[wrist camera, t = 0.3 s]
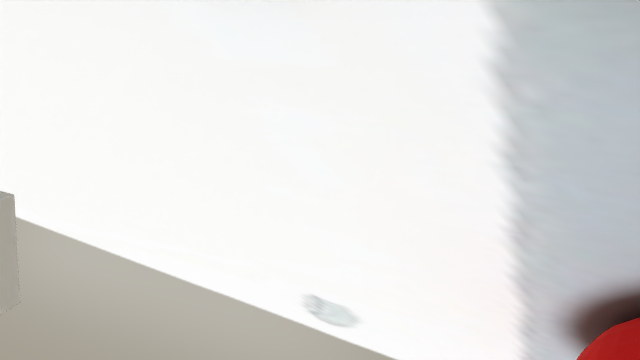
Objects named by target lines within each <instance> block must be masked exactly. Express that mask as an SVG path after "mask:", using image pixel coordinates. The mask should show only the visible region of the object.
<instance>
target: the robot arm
mask: <svg viewBox="0 0 640 360" xmlns="http://www.w3.org/2000/svg"><path fill="white" fill-rule="evenodd" d="M19 289H20V288H19V271H18V253H17V237H16V221H15V201H14V195H13V194H10V193H6V192H2V191H0V315H2V314H3V313H5V312H7V311H8V310H10V309H11V308H12V307H14V306H15V305H17V304H19V303H20V290H19Z"/></svg>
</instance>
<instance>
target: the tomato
mask: <svg viewBox="0 0 640 360" xmlns="http://www.w3.org/2000/svg"><path fill="white" fill-rule="evenodd" d="M577 360H640V318H636V319H633V320H630V321H627V322H624V323H620V324H617V325H615V326H613V327H611V328H610V329H608V330H606V331H604V332H603V333H602V334H601V335H600V336H598V337H597V338H596V339H595V340H594V341H593V342H592V343H591V344H590V345H589V346H588V347H587V348H585V349H584V351H583V352H582V353H581V354H580V356H579V357H578V358H577Z"/></svg>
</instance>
